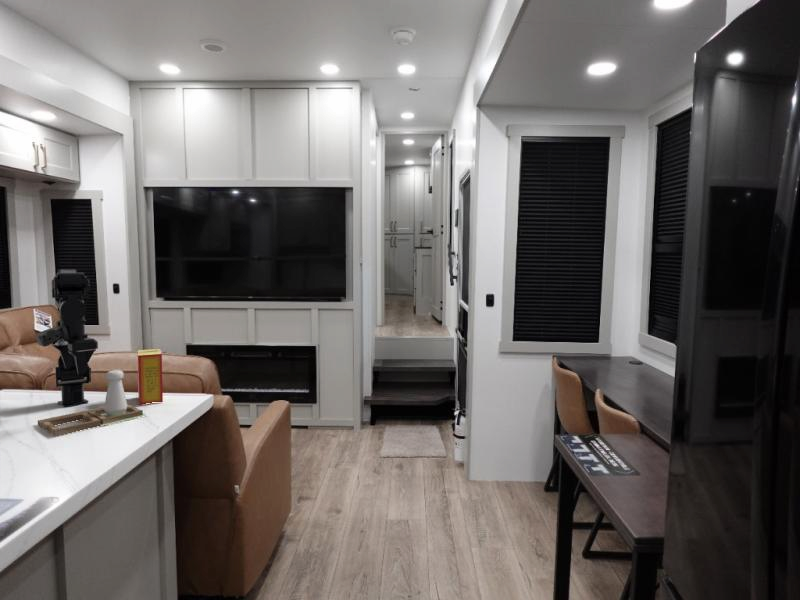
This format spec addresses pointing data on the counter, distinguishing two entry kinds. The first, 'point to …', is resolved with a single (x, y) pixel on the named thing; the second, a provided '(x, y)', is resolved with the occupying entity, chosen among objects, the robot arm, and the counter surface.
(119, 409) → the salt shaker
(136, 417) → the card
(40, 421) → the frame
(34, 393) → the counter surface
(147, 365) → the baking soda box
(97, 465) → the counter surface
